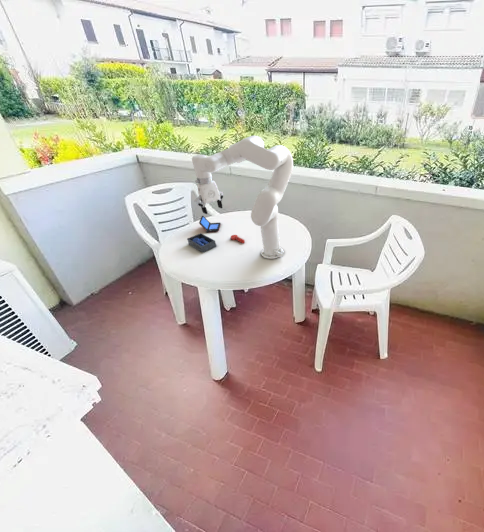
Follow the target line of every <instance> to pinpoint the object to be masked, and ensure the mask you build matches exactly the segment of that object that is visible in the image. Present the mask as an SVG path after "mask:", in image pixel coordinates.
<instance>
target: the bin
mask: <svg viewBox="0 0 484 532" xmlns="http://www.w3.org/2000/svg"><path fill="white" fill-rule="evenodd" d="M194 238H198V239H199V238H205V240H206V241H207V242H209V243H208V244H204V245H203V246H200V245H199V244H197V243H195V242H193V241H192V240H193V239H194ZM186 240H187V244H188V246H191V247H192V248H194V249H196V250H197V251H199V252H201V254H202V253H205V252H208V251H210V250H212V249H214V248H217V243H216V240H215V239H213V238H211V237H209V236H207V235H205V234H203V233H201V232H200V233H198V234H196V235H193V236H190V237H188V238H186ZM202 244H203V243H202Z"/></svg>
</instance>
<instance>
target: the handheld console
mask: <svg viewBox="0 0 484 532" xmlns="http://www.w3.org/2000/svg"><path fill="white" fill-rule="evenodd" d="M198 224H199V225H200V226H201V227H202V228H203V229H204V231H206V234H207V233H217V232H219V231H220V227H221V222H210V221H209V220H208V219H207V218H206V217H205V216H204V215H201V216H200V220H199V222H198Z"/></svg>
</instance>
